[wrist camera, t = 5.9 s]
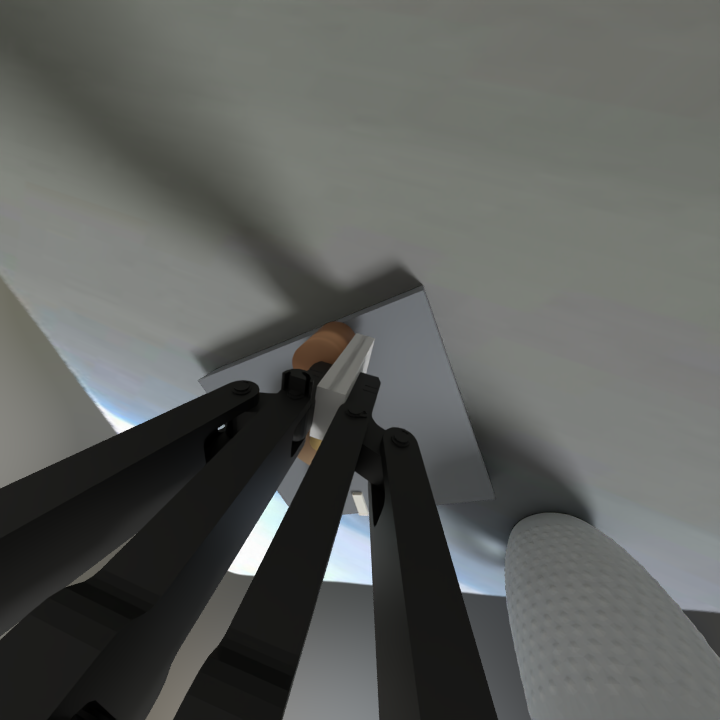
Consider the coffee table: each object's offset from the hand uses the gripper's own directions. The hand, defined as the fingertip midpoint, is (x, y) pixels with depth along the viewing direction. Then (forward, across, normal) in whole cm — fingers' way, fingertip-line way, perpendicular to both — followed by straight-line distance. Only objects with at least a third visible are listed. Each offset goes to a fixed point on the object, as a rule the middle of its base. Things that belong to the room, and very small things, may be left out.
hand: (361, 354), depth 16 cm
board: (+3, 0, -9) cm, 9 cm away
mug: (+4, +21, -16) cm, 26 cm away
